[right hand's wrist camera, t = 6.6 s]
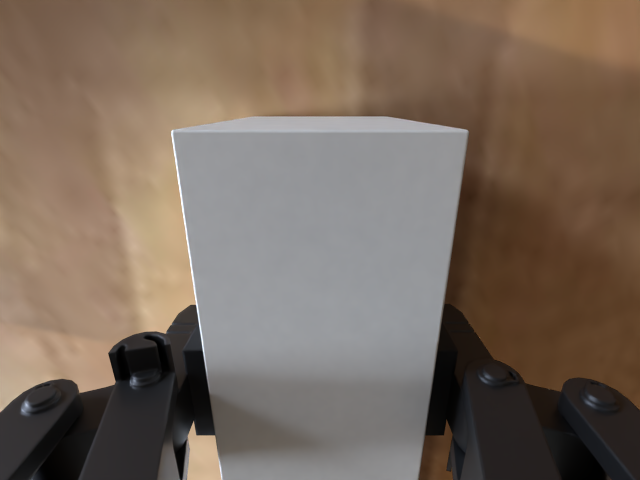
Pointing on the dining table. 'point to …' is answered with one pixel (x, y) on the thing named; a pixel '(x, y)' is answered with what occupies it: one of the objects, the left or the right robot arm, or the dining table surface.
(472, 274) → the dining table surface
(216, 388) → the bar
